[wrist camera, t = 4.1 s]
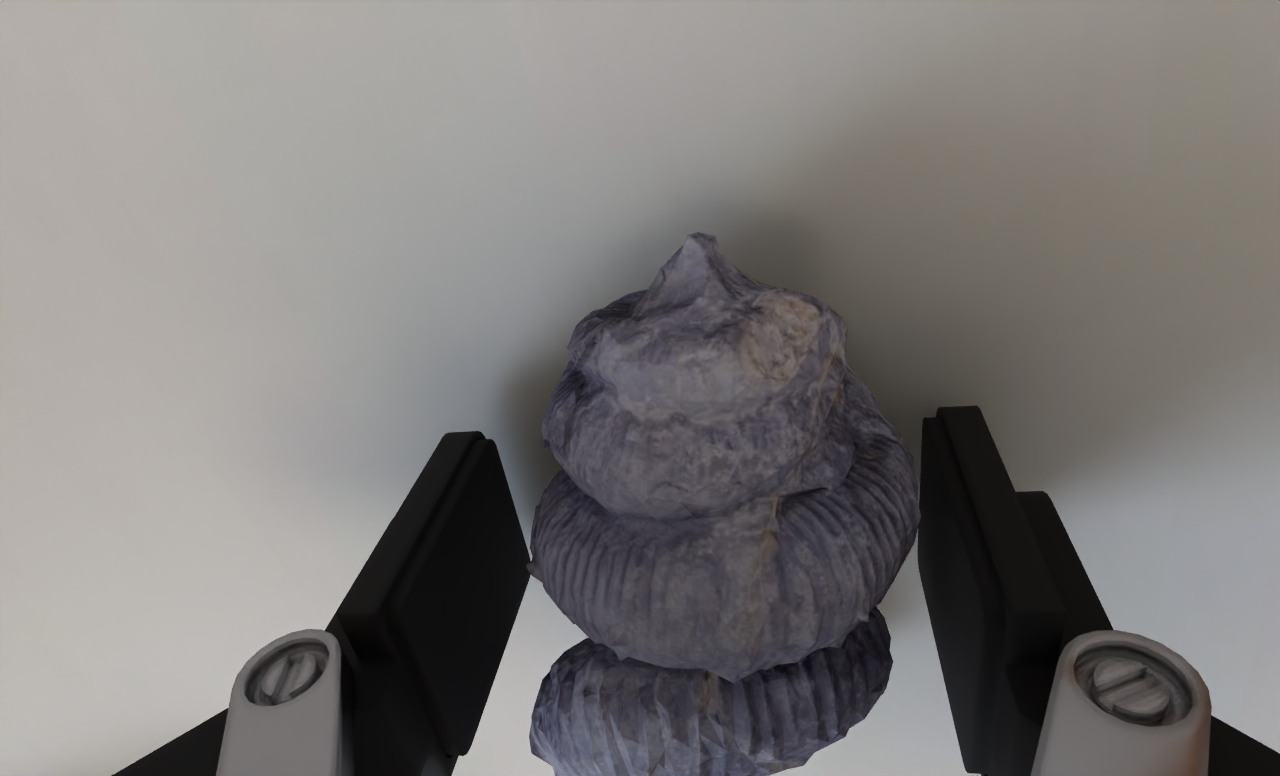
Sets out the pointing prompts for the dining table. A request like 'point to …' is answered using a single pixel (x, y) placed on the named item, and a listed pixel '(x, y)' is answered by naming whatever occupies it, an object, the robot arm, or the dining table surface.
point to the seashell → (715, 531)
